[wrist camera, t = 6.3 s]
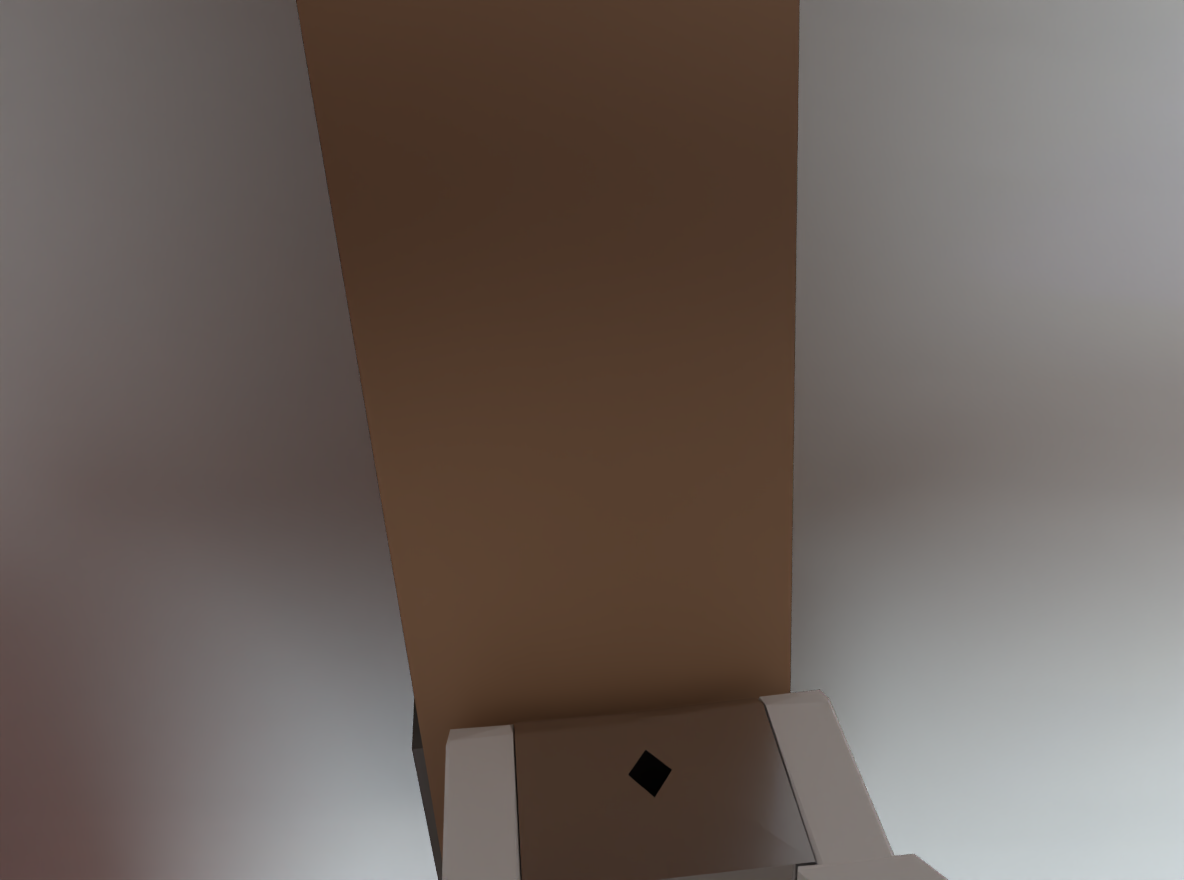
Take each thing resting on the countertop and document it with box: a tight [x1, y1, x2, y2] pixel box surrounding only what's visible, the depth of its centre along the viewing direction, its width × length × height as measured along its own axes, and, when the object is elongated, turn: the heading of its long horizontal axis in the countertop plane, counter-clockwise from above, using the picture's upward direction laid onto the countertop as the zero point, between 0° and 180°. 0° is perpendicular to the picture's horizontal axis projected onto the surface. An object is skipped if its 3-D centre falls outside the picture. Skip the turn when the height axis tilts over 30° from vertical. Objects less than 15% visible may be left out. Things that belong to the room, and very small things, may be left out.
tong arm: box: [296, 0, 799, 863], centre depth 7 cm, size 22×4×2 cm, turn 4°
